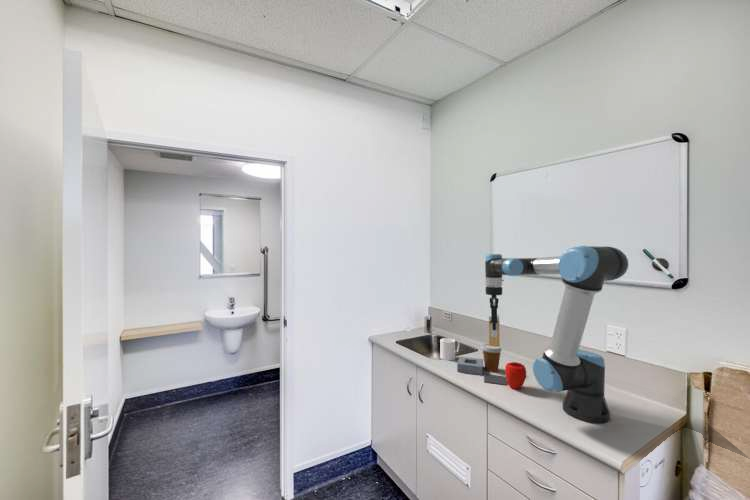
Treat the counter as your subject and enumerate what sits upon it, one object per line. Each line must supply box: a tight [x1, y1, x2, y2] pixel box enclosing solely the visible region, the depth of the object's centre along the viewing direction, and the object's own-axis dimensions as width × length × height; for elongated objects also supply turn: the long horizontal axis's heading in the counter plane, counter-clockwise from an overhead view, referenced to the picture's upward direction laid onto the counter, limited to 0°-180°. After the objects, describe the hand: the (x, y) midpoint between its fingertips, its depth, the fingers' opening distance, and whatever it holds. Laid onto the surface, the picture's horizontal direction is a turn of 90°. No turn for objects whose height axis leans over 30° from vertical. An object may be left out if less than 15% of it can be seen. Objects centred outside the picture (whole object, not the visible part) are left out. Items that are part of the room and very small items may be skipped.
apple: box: [504, 361, 527, 389], centre depth 146 cm, size 9×9×11 cm
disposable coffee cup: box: [481, 343, 502, 373], centre depth 167 cm, size 10×10×12 cm
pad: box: [483, 373, 508, 387], centre depth 154 cm, size 10×10×1 cm
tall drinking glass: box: [488, 314, 501, 347], centre depth 155 cm, size 5×5×14 cm
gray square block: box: [456, 356, 484, 376], centre depth 168 cm, size 12×12×4 cm
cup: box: [439, 337, 461, 361], centre depth 186 cm, size 8×12×10 cm
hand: (494, 335), depth 155 cm, fingers closed on tall drinking glass, 5 cm apart
